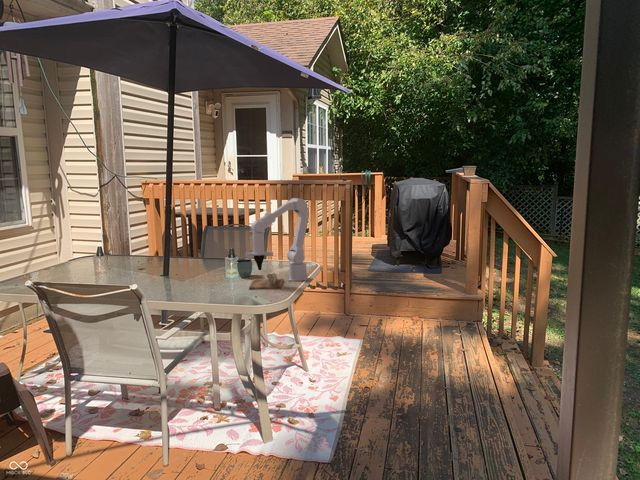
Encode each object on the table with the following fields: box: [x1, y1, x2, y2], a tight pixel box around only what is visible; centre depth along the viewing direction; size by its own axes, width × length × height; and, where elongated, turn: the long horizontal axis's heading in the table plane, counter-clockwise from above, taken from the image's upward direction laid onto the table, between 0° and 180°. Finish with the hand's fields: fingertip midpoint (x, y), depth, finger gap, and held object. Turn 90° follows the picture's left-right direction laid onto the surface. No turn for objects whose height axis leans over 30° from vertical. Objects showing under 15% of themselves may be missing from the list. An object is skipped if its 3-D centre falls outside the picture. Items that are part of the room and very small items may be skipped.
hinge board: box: [248, 273, 284, 290], centre depth 260 cm, size 16×18×6 cm
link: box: [267, 272, 278, 284], centre depth 262 cm, size 12×4×4 cm, turn 178°
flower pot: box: [235, 258, 253, 278], centre depth 282 cm, size 9×9×9 cm
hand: (259, 269), depth 261 cm, fingers closed
